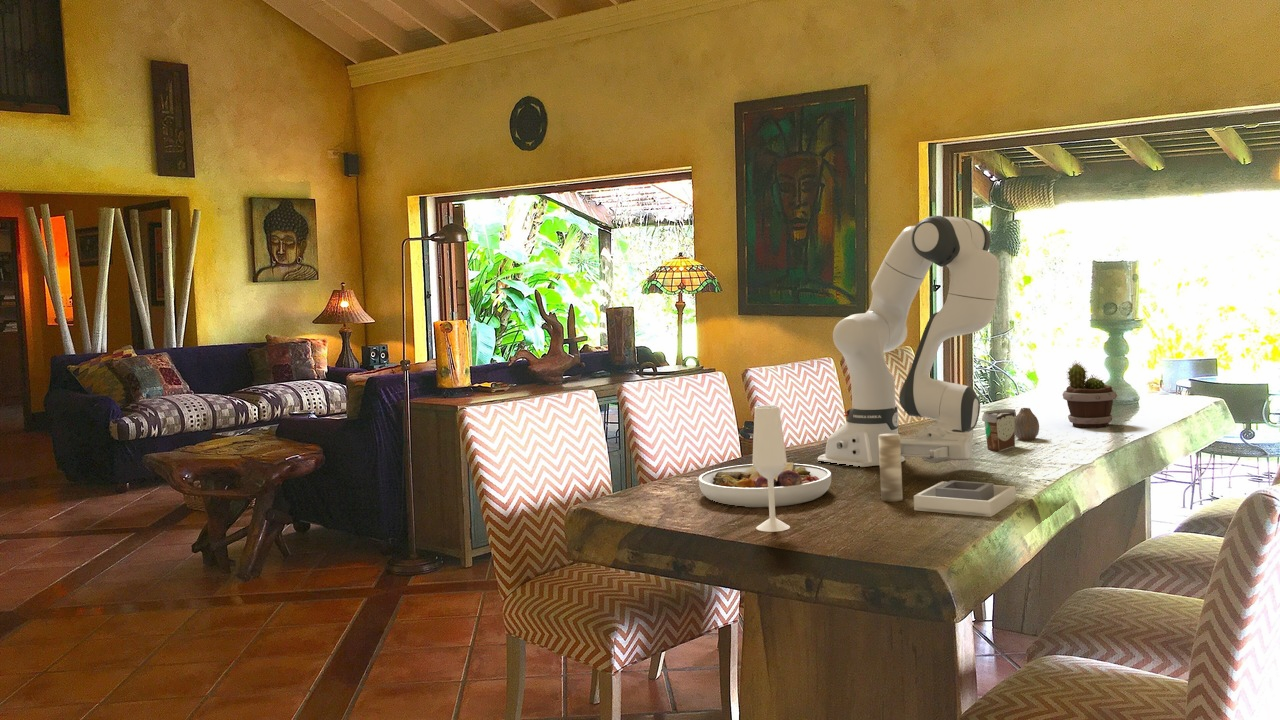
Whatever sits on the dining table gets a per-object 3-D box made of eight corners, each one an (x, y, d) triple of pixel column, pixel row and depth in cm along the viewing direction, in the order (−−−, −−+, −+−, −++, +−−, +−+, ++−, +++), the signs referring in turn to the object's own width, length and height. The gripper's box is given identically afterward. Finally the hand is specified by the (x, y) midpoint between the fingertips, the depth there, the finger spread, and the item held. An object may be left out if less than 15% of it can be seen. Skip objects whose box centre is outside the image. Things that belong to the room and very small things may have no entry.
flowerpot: (1110, 421, 303) (1108, 356, 302) (1122, 428, 288) (1120, 360, 287) (1059, 422, 307) (1057, 358, 305) (1069, 430, 292) (1066, 362, 290)
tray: (914, 510, 204) (913, 490, 203) (942, 495, 216) (941, 476, 216) (991, 516, 194) (990, 496, 194) (1015, 500, 206) (1015, 481, 206)
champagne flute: (751, 525, 199) (744, 406, 197) (782, 522, 200) (776, 403, 199) (762, 533, 192) (756, 410, 191) (795, 529, 194) (789, 407, 192)
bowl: (678, 494, 236) (676, 461, 235) (789, 478, 247) (787, 446, 246) (737, 517, 208) (735, 480, 207) (858, 498, 219) (856, 463, 218)
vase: (1041, 440, 277) (1040, 409, 276) (1015, 441, 278) (1014, 410, 278) (1037, 436, 284) (1036, 406, 283) (1011, 437, 285) (1010, 407, 284)
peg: (877, 500, 214) (874, 436, 214) (886, 496, 218) (883, 433, 217) (897, 502, 212) (894, 437, 211) (906, 498, 215) (903, 434, 214)
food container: (995, 444, 276) (994, 408, 275) (1017, 445, 271) (1016, 409, 271) (974, 450, 267) (973, 414, 266) (996, 452, 263) (995, 415, 262)
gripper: (893, 428, 241) (868, 437, 230) (977, 431, 228) (955, 441, 217) (894, 454, 241) (869, 464, 230) (978, 459, 229) (957, 469, 218)
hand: (912, 453), depth 224 cm, fingers open, 8 cm apart
